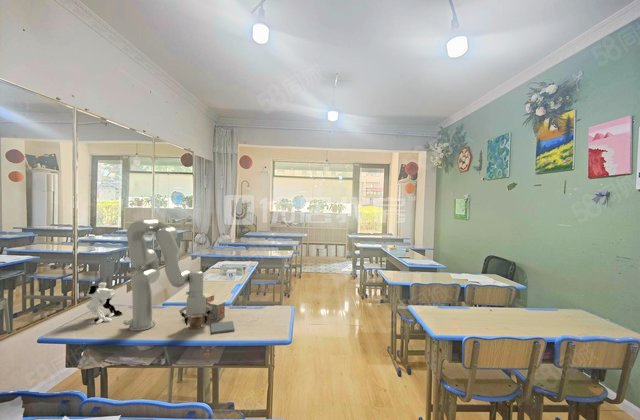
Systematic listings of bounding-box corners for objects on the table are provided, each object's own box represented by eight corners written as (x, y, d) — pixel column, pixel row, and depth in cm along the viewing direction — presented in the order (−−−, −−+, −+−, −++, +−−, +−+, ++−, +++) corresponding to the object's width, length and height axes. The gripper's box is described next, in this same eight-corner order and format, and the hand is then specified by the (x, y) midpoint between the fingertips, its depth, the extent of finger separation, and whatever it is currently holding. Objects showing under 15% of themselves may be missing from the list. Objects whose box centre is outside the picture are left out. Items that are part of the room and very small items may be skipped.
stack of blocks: (224, 317, 184) (225, 297, 184) (217, 320, 179) (217, 300, 178) (200, 310, 194) (200, 291, 194) (192, 314, 188) (192, 294, 188)
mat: (211, 333, 160) (211, 332, 160) (211, 325, 171) (211, 323, 171) (234, 330, 164) (234, 329, 164) (232, 322, 176) (232, 320, 176)
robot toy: (105, 324, 170) (104, 289, 170) (80, 324, 170) (79, 289, 170) (126, 312, 189) (126, 280, 189) (104, 312, 189) (103, 280, 188)
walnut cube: (190, 329, 166) (190, 319, 166) (190, 325, 171) (190, 315, 171) (201, 327, 168) (201, 318, 168) (201, 324, 173) (201, 314, 173)
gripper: (178, 296, 162) (178, 328, 163) (212, 293, 169) (212, 324, 169) (179, 292, 169) (179, 322, 170) (212, 290, 176) (212, 319, 176)
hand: (196, 323), depth 169 cm, fingers open, 9 cm apart
